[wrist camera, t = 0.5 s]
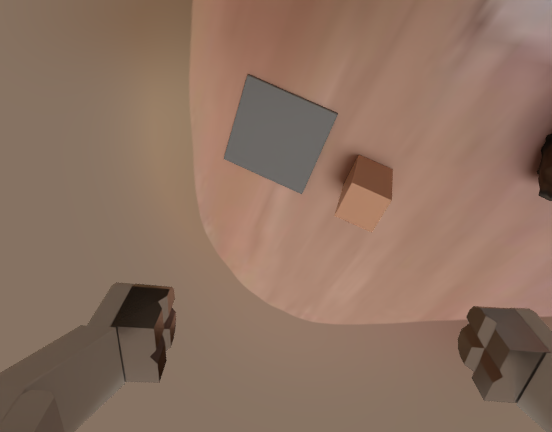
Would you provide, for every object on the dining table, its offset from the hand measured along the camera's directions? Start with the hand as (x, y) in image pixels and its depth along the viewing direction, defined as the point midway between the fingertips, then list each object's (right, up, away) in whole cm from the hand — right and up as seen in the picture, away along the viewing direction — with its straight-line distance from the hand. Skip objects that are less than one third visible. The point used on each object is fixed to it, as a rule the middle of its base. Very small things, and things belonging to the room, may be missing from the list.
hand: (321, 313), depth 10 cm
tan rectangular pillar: (+13, +9, +46) cm, 49 cm away
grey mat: (-1, +15, +47) cm, 49 cm away
